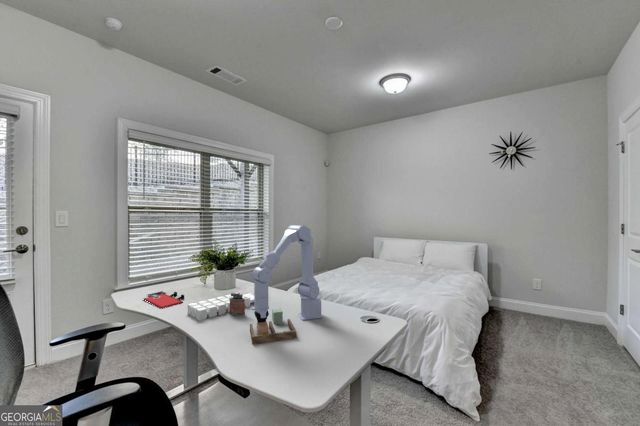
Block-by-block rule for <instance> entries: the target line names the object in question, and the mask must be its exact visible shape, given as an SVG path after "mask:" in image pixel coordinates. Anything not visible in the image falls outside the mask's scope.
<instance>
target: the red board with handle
mask: <svg viewBox="0 0 640 426" xmlns="http://www.w3.org/2000/svg"><path fill="white" fill-rule="evenodd" d="M149 295H151V296H152V297H151V296H149ZM147 296H148V297H144V298H143V299H144V300H146V301H148V302H150V303H151V304H150V303H149V304H150V305H152V304H154V305H155V306H154V305H153V306H154V307H156V306H157V308H158V307H159V309H160V308H162V309H165V307H166V308H170V307H173V305H174V306H176V305H177V304H178V305H180V304H184V301H182V299H183V300H185V294H181V295H180V296H178V292H177V291H173V293H172V294H169V295H168V294H167V292H164V291H163V290H162V291H157V292H153V293H148V294H147ZM175 296H177V298H175ZM144 300H143V301H144ZM146 301H145V302H146ZM148 302H147V303H148ZM169 306H170V307H169Z"/></svg>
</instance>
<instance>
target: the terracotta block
mask: <svg viewBox="0 0 640 426" xmlns="http://www.w3.org/2000/svg"><path fill="white" fill-rule="evenodd" d="M266 333H269V334H270V329H269V323H268V322H267V321H266V322H260V323H258V322H256V335H259V334H263V335H264V334H266Z"/></svg>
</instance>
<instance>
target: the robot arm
mask: <svg viewBox="0 0 640 426" xmlns="http://www.w3.org/2000/svg"><path fill="white" fill-rule="evenodd" d="M295 242H298V244H300V247H301V248H300V249H301V252H300V254H301V278H300V279H299V280H298V286H297V292H298V294H299V296H300V312H299V313H298V316H299V317H300V319H301V320H303V321H305V320H307V321H308V320H313V319H321V318H323V316H322V299H321V297H320V296H319V295H320V287H319V282H318V280H317V279H316V278H315V276H314V275H315V274H314V246H313V245H314V241H313V238H312V234H311V229H310V228H309V227H308V226H307V225H297V224H296V225H295V224H290V225H289V226H288V227H287V229H286V230H284V235H283V236H282V238H281V240H280V241H279V243H277V246H275V248H274V250H273V251H270V252H268V253H266V254H265V258H264V259H263V261H262V262H261V263H259V265H258V266H257V267H255V268H254V269H253V271H252V273H251V274H250V275H251V277H252V279H253V283H254V284H253V286H254V287H253V291H254V292H253V295H254V302H253V303H254V306H252V307H251V308H250V310H251V311H254V313H253V314H254V316H255V318H256V321H257V322H256V323H260V322H267V320H268V317H269V315H270V313H269V309H270V305H269V281H270V280H271V278H272V273H273V271H274V269H275V268H276V267H277V266H278V264H279V262H280V261H281V255H282V254H283V253H284V252H285V251H286V250H287V248H288V247H289V246H290V245H291V243H295Z"/></svg>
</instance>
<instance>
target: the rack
mask: <svg viewBox="0 0 640 426" xmlns="http://www.w3.org/2000/svg"><path fill="white" fill-rule="evenodd" d="M286 323H287V327H288V329H289V330H288V331H287V330H283V331H279V332H277V331H276V330H275V326H274V323H273V321H268V327H269V333H266V334H264V335H263V334H259V335H257V334H256V335H255V330H254V326H253V323H249V334H250V339H251V344H252V345H254V344H262V343H268V342H276V341H283V340H290V339H291V340H292V339H296V338H297V336H298V335H297V330H296V328H295V325H294V324H293V322H292V321H291V319H290V318H288V319H287V321H286Z"/></svg>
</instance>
